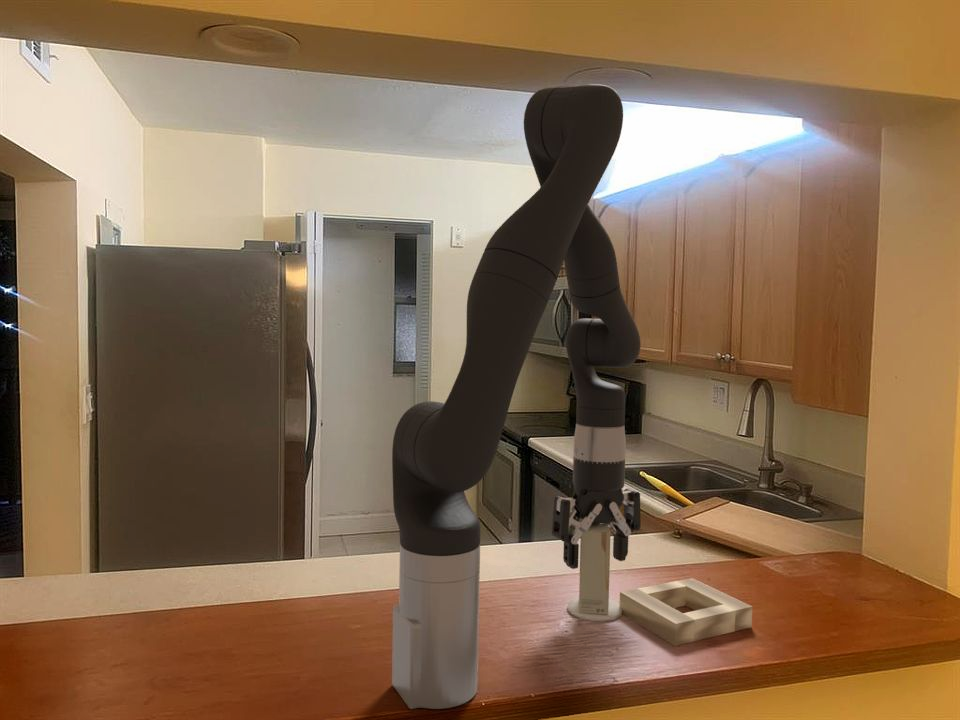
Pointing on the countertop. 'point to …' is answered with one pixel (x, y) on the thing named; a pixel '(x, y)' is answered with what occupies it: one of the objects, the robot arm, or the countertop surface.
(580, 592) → the skincare box
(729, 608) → the pocket block
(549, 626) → the countertop surface
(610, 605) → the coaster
